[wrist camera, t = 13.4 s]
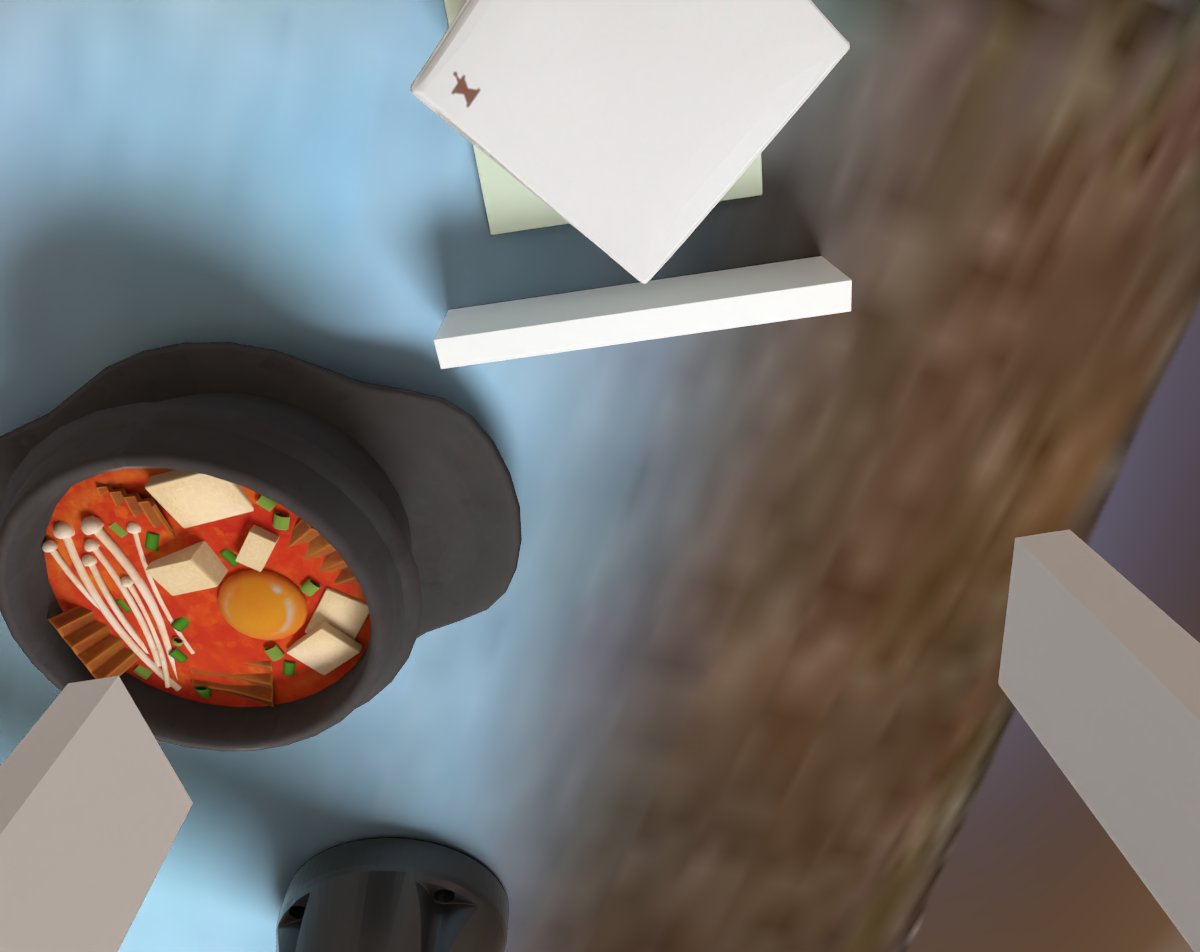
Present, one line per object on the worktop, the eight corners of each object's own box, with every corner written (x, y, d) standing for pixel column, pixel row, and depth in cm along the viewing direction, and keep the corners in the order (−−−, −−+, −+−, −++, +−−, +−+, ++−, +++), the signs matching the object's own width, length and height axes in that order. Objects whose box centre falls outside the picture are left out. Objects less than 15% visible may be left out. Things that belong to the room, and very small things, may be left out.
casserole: (97, 675, 42) (-4, 805, 35) (-79, 356, 33) (-265, 441, 26) (546, 633, 42) (540, 757, 34) (491, 299, 33) (467, 369, 25)
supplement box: (615, 212, 31) (639, 299, 20) (465, 75, 28) (394, 87, 17) (748, 52, 28) (862, 49, 17) (595, -114, 26) (612, -245, 14)
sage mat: (492, 232, 31) (491, 235, 31) (426, -97, 26) (424, -99, 26) (759, 192, 31) (762, 194, 30) (748, -150, 26) (751, -154, 25)
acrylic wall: (454, 336, 33) (441, 369, 30) (448, 309, 33) (433, 340, 29) (821, 284, 33) (851, 311, 29) (821, 255, 32) (851, 280, 29)
